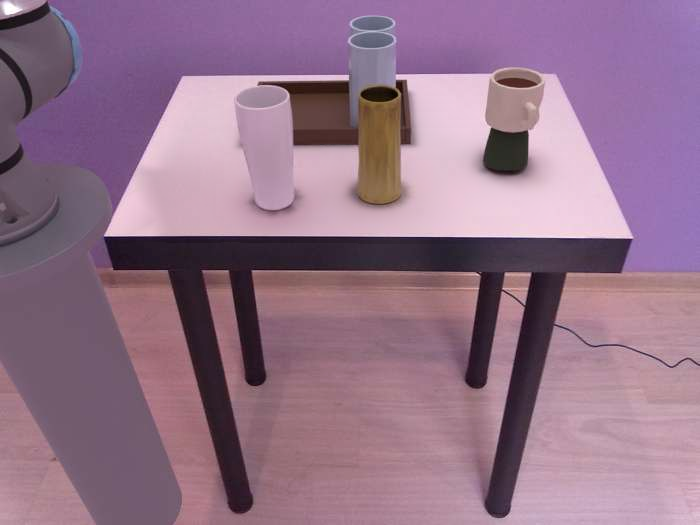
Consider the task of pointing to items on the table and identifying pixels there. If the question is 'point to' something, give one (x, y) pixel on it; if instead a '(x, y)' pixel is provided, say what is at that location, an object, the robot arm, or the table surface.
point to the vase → (379, 144)
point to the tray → (331, 111)
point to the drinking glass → (267, 143)
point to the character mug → (511, 116)
